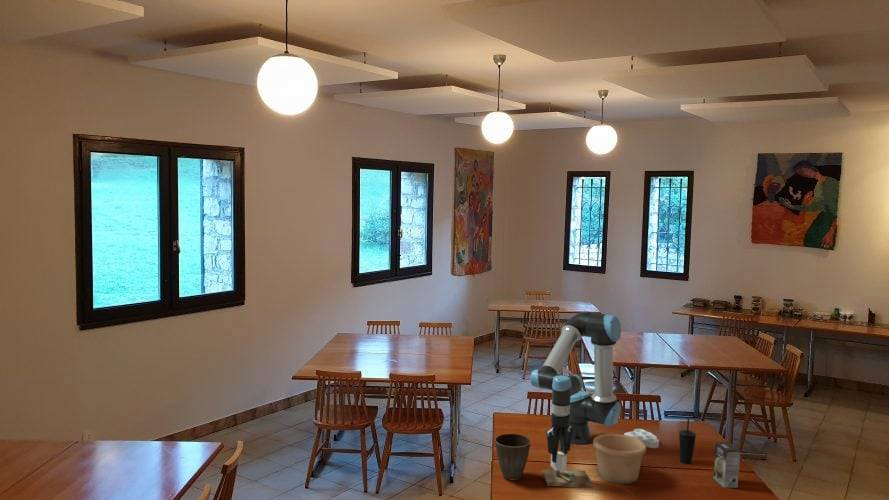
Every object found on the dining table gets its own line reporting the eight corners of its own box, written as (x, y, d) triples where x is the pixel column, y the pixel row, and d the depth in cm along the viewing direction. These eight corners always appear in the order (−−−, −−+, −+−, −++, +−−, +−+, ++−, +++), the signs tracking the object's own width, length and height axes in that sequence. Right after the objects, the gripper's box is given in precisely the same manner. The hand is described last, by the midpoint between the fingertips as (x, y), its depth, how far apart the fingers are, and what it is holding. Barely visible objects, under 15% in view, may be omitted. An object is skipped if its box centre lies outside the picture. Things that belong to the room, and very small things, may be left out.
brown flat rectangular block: (547, 486, 265) (547, 481, 265) (542, 474, 277) (542, 469, 277) (591, 487, 265) (591, 482, 265) (584, 475, 277) (584, 470, 277)
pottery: (587, 464, 289) (588, 432, 288) (637, 466, 288) (638, 434, 287) (597, 485, 267) (598, 451, 266) (650, 487, 266) (652, 453, 265)
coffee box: (712, 478, 277) (714, 441, 276) (727, 478, 277) (729, 441, 276) (723, 488, 268) (725, 450, 266) (738, 487, 268) (740, 449, 267)
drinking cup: (696, 466, 289) (698, 422, 287) (678, 464, 291) (680, 421, 289) (693, 459, 297) (695, 417, 295) (675, 457, 298) (678, 415, 296)
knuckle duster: (620, 436, 326) (647, 434, 328) (637, 449, 308) (666, 448, 311) (620, 429, 325) (647, 428, 328) (638, 442, 308) (666, 441, 310)
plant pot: (506, 487, 263) (507, 449, 262) (487, 473, 276) (488, 436, 275) (536, 480, 270) (537, 443, 269) (516, 467, 283) (517, 431, 282)
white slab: (567, 481, 264) (568, 460, 264) (550, 471, 273) (551, 451, 273) (571, 480, 266) (572, 459, 265) (554, 470, 275) (555, 450, 274)
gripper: (552, 419, 262) (549, 475, 264) (580, 413, 270) (578, 468, 272) (540, 413, 268) (538, 468, 270) (568, 408, 276) (566, 461, 278)
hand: (558, 468), depth 271 cm, fingers closed on white slab, 2 cm apart
